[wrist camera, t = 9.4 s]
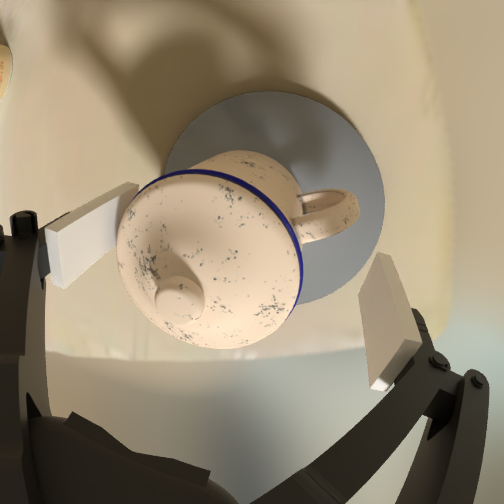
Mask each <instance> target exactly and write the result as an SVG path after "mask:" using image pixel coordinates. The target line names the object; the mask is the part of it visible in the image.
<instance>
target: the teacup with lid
mask: <svg viewBox="0 0 504 504" xmlns="http://www.w3.org/2000/svg"><path fill="white" fill-rule="evenodd" d="M359 215H360V208H359V204H358V200H357V198H356V196H355V195H354V194H353V193H351V192H349V191H347V190H343V189H322V190H317V191H312V192H308V193H304V194H302V192H301V189H300V187H299V185H298V183H297V182H296V180H295V179H294V177H293V176H292V175H291V173H290V172H289V171H288V170H287V169H286V168H285V167H284V166H282V165H281V164H280V163H278V162H277V161H276V160H274V159H272V158H270V157H268V156H266V155H263V154H260V153H257V152H253V151H245V150H236V151H229V152H224V153H221V154H218V155H216V156H214V157H212V158H209V159H207V160H205V161H203V162H201V163H199V164H197V165H195V166H193V167H191V168H189V169H187V170H180V171H175V172H171V173H168V174H166V175H163V176H161V177H159V178H157V179H155V180H153V181H152V182H150V183H149V184H147V185H146V186H145V187H144V188H143V189H141V190H140V191H139V192H138V193H137V195H136V196H135V197H134V198H133V199H132V201H131V202H130V204H129V206H128V207H127V209H126V211H125V213H124V215H123V217H122V220H121V222H120V226H119V229H118V235H117V243H116V255H117V263H118V267H119V272H120V275H121V278H122V280H123V283H124V285H125V287H126V289H127V291H128V293H129V295H130V296H131V298H132V300H133V301H134V302H135V304H136V305H137V307H138V308H139V309H140V310H141V311H142V312H143V314H144V315H145V316H146V317H147V318H148V319H150V320H151V321H152V322H153V323H154V324H155V325H157V326H158V327H159V328H161V329H162V330H164V331H165V332H167V333H168V334H170V335H172V336H174V337H176V338H178V339H180V340H182V341H185V342H187V343H190V344H193V345H197V346H201V347H207V348H216V349H228V348H237V347H242V346H246V345H249V344H252V343H254V342H257V341H259V340H261V339H263V338H265V337H266V336H268V335H269V334H271V333H272V332H273V331H275V330H276V329H277V328H278V327H279V326H280V325H281V324H282V323H283V322H284V321H285V320H286V319H287V317H288V316H289V315H290V313H291V312H292V310H293V309H294V307H295V305H296V303H297V301H298V298H299V295H300V292H301V288H302V283H303V259H302V253H301V251H302V244H304V243H308V242H312V241H316V240H320V239H323V238H327V237H330V236H333V235H335V234H338V233H340V232H342V231H344V230H346V229H347V228H349V227H350V226H352V225H353V224H354V223H355V222H356V221H357V220H358V218H359Z"/></svg>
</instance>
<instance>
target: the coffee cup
mask: <svg viewBox="0 0 504 504" xmlns="http://www.w3.org/2000/svg"><path fill="white" fill-rule="evenodd" d="M12 66H13V63H12V54H11V51H10V49H9V48H8V47H7V46H5V45H1V44H0V102H1V101H2V100H3V98H4V96H5V94H6V92H7V90H8V87H9V84H10V80H11V75H12Z"/></svg>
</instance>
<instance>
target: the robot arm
mask: <svg viewBox="0 0 504 504" xmlns="http://www.w3.org/2000/svg"><path fill="white" fill-rule="evenodd" d="M138 191H139V185H138V184H134V183H130V182H127V183H125V184H123V185H121V186H119V187H117V188H115V189H113V190H111V191H109V192H107V193H105V194H103V195H101V196H99V197H97V198H95V199H94V200H92V201H90V202H88V203H86V204H84V205H83V206H81V207H79V208H77V209H75V210H74V211H71V212H68V213H65V214H64V215H62V216H60V217H59V218H57V219H55V220H54V221H52V222H50V223H48V224H47V225H45V226H43V227H42V228H40V229H38V223H37V214H36V213H35V212H34V211H27V210H25V211H20V212H17V213H15V214H13V215H12V216H11V217H10V226H11V233H12V236H7V235H4V232H3V227H2V226H1V225H0V504H239V503H238V502H237V501H236V500H235V499H234V497H233V496H232V495H231V494H230V493H228V492H227V491H226V490H225V489H224V488H223V487H221V486H220V485H218V484H217V483H215V482H213V481H212V480H210V479H208V478H209V475H210V472H211V471H209V470H206V469H202V468H199V467H196V466H193V465H190V464H187V463H184V462H181V461H178V460H176V459H172V458H165V457H159V456H152V455H147V454H141V453H136V452H133V451H131V450H129V449H128V448H127V447H125V446H124V445H123V444H122V443H120V442H119V441H118V440H116V439H115V438H114V437H113V436H112V435H110V434H109V433H108V432H107V431H106V430H104V429H103V428H102V427H100V426H98V425H96V424H94V423H92V422H91V421H89V420H87V419H85V418H83V417H81V416H80V415H78V414H76V413H74V412H72V413H71V414H70V416H69V417H68V419H67V418H63V417H55V416H52V414H51V411H50V407H49V399H48V388H47V376H46V361H45V295H46V280H45V276H47V275H48V274H49V273H50V274H51V280H52V284H54V285H56V286H58V287H60V288H62V289H65V288H66V287H68V286H69V285H70V284H71V283H72V282H73V281H74V280H75V279H77V278H78V277H79V276H80V275H81V274H82V273H84V272H85V271H86V270H87V269H88V268H89V267H91V266H92V265H93V264H94V263H95V262H96V261H98V260H99V259H100V258H101V257H102V256H104V255H105V254H106V253H107V252H108V251H110V250H111V249H112V248H113V247H115V246H116V243H117V235H118V229H119V226H120V222H121V220H122V217H123V215H124V213H125V211H126V209H127V207H128V206H129V204H130V202H131V201H132V199H133V198H134V197H135V196H136V195H137V193H138ZM358 297H359V303H360V310H361V316H362V324H363V331H364V339H365V347H366V355H367V364H368V374H369V385H370V389H375V390H380V391H387V390H388V389H389V388H390V386H391V385H392V384H393V383H394V385H395V386H394V388H393V389H392V390H391V391H390V392H389V393H388V394H387V395H386V396H385V397H384V398H383V399H382V400H381V401H380V402H379V403H378V404H377V405H376V406H375V407H374V408H373V409H372V410H371V411H370V412H369V413H368V414H367V415H366V416H365V417H364V418H363V419H362V420H361V421H360V422H359V423H358V424H356V425H355V426H354V427H353V428H352V429H351V430H350V431H349V432H348V433H346V434H345V435H344V436H343V437H342V438H341V439H340V440H338V441H337V442H336V443H335V444H334V445H333V446H332V447H330V448H329V449H328V450H327V451H325V452H324V453H323V454H322V455H321V456H319V457H318V458H317V459H316V460H314V461H313V462H312V463H311V464H309V465H308V466H306V467H305V468H303V469H301V470H299V471H298V472H297V473H295V474H293V475H292V476H291V477H289V478H288V479H286V480H285V481H283V482H282V483H281V484H279V485H278V486H276V487H275V488H273V489H272V490H270V491H269V492H267V493H266V494H264V495H263V496H261V497H260V498H258V499H256V500H255V501H253V502H251V503H250V504H345V503H346V502H347V501H348V500H349V499H350V498H351V497H352V496H353V495H354V494H355V493H356V492H357V491H358V490H359V489H360V488H361V487H362V486H363V485H364V484H365V483H366V482H367V481H368V480H369V479H370V478H371V477H372V476H373V474H375V473H376V471H377V470H378V469H379V468H380V467H381V466H382V465H383V463H384V462H385V461H386V460H387V459H388V458H389V457H390V455H391V454H392V453H393V452H394V451H395V449H396V448H397V447H398V446H399V445H400V443H401V442H402V441H403V439H404V438H405V437H406V436H407V434H408V433H409V432H410V430H411V429H412V428H413V426H414V425H415V424H416V422H417V421H418V420H419V418H420V417H421V415H424V416H427V417H428V420H427V423H426V426H425V429H424V433H423V436H422V439H421V441H420V445H419V447H418V450H417V453H416V455H415V458H414V461H413V463H412V466H411V468H410V471H409V473H408V476H407V478H406V481H405V483H404V486H403V488H402V490H401V492H400V494H399V496H398V499H397V501H396V503H395V504H473V502H474V498H475V494H476V489H477V485H478V481H479V475H480V470H481V465H482V459H483V452H484V446H485V438H486V430H487V419H488V406H489V383H488V381H487V379H486V377H485V376H484V375H483V374H482V373H480V372H479V371H477V370H474V369H470V370H468V371H467V372H466V373H465V374H464V376H461V375H458V374H456V373H454V372H452V371H450V369H451V367H450V363H449V362H448V360H447V359H446V358H445V357H444V356H443V355H442V354H441V353H439V352H437V351H435V349H434V346H433V343H432V341H431V338H430V335H429V333H428V329H427V327H426V324H425V321H424V319H423V317H422V315H421V314H420V313H419V312H418V310H417V309H413V308H411V307H410V304H409V302H408V299H407V296H406V293H405V291H404V288H403V286H402V283H401V280H400V278H399V275H398V273H397V270H396V268H395V265H394V263H393V261H392V258H391V256H390V255H386V254H383V253H380V252H377V254H376V257H375V259H374V261H373V263H372V266H371V268H370V270H369V272H368V275H367V277H366V279H365V281H364V283H363V285H362V288H361V290H360V292H359V294H358Z"/></svg>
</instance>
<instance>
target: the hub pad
mask: <svg viewBox="0 0 504 504" xmlns="http://www.w3.org/2000/svg"><path fill="white" fill-rule="evenodd" d="M236 150H245V151H253V152H257V153H260V154H263V155H266V156H268V157H270V158H272V159H274V160H276V161H277V162H278V163H280V164H281V165H282V166H284V167H285V168H286V169H287V170H288V171H289V172H290V173H291V175H292V176H293V177H294V179H295V180H296V182H297V183H298V185H299V187H300V189H301V192H302V194H304V193H308V192H312V191H317V190H322V189H343V190H347V191H349V192H351V193H353V194H354V195H355V196H356V198H357V200H358V204H359V208H360V215H359V218H358V220H357V221H356V222H355V223H354V224H353V225H352V226H350V227H349V228H347V229H346V230H344V231H342V232H340V233H338V234H335V235H333V236H330V237H327V238H323V239H320V240H316V241H312V242H308V243H304V244H302V251H301V253H302V259H303V283H302V288H301V292H300V295H299V298H298V301H297V303H296V305H299V304H304V303H308V302H311V301H314V300H317V299H320V298H323V297H325V296H327V295H329V294H331V293H333V292H334V291H336V290H337V289H339V288H341V287H342V286H344V285H345V284H346V283H347V282H348V281H350V280H351V279H352V278H353V277H354V276H355V275H356V274H357V273H358V272H359V271H360V270H361V268H362V267H363V266H364V265H365V263H366V262H367V260H368V259H369V257H370V256H371V254H372V252H373V250H374V248H375V246H376V244H377V242H378V239H379V236H380V233H381V230H382V225H383V219H384V210H385V197H384V188H383V182H382V178H381V174H380V171H379V168H378V165H377V163H376V161H375V158H374V156H373V154H372V152H371V151H370V149H369V147H368V146H367V144H366V142H365V141H364V139H363V138H362V137H361V136H360V134H359V133H358V132H357V131H356V130H355V128H354V127H353V126H351V125H350V124H349V123H348V122H347V121H346V120H345V119H344V118H343V117H341V116H340V115H339V114H337V113H336V112H334V111H333V110H331V109H330V108H328V107H326V106H325V105H323V104H321V103H318V102H316V101H314V100H312V99H309V98H306V97H303V96H300V95H297V94H291V93H286V92H277V91H260V92H251V93H245V94H241V95H238V96H234V97H231V98H229V99H226V100H224V101H221V102H219V103H217V104H215V105H214V106H212V107H210V108H209V109H207V110H205V111H204V112H203V113H202V114H200V115H199V116H198V117H197V118H195V119H194V120H193V121H192V122H191V123H190V124H189V125H188V127H187V128H186V129H185V130H184V131H183V132H182V134H181V135H180V137H179V138H178V140H177V141H176V143H175V145H174V147H173V149H172V151H171V153H170V155H169V157H168V160H167V163H166V166H165V170H164V175H166V174H168V173H171V172H175V171H180V170H187V169H189V168H191V167H193V166H195V165H197V164H199V163H201V162H203V161H205V160H207V159H209V158H212V157H214V156H216V155H218V154H221V153H224V152H229V151H236Z"/></svg>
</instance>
